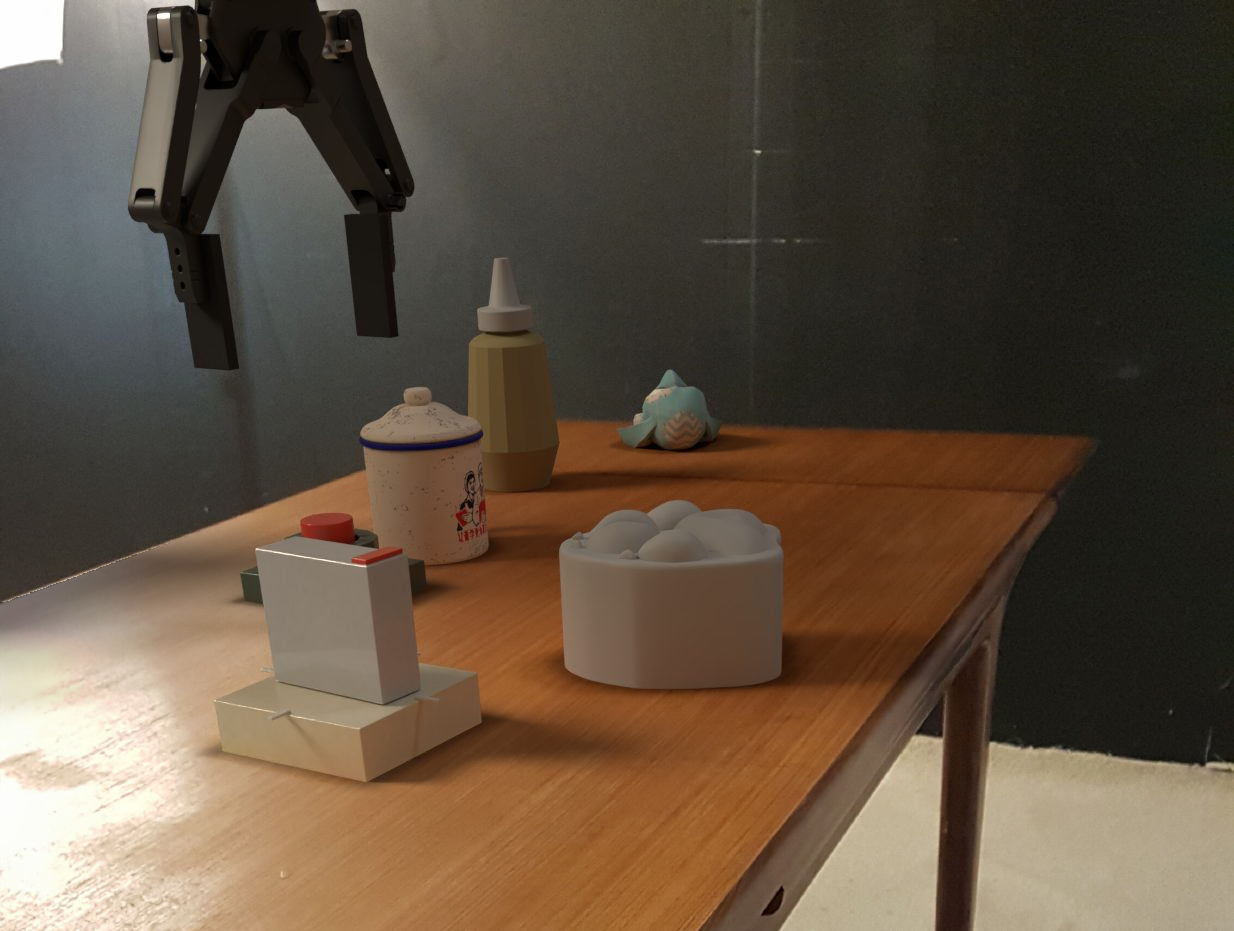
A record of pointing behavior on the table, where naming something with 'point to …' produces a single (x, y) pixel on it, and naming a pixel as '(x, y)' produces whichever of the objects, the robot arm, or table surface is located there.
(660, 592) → the lumpy-topped squat cylinder
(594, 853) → the table surface
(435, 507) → the teacup with lid
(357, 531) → the button box
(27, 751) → the table surface
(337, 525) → the red button
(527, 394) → the squeeze bottle
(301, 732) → the panel
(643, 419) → the stuffed animal
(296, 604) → the tap lever
